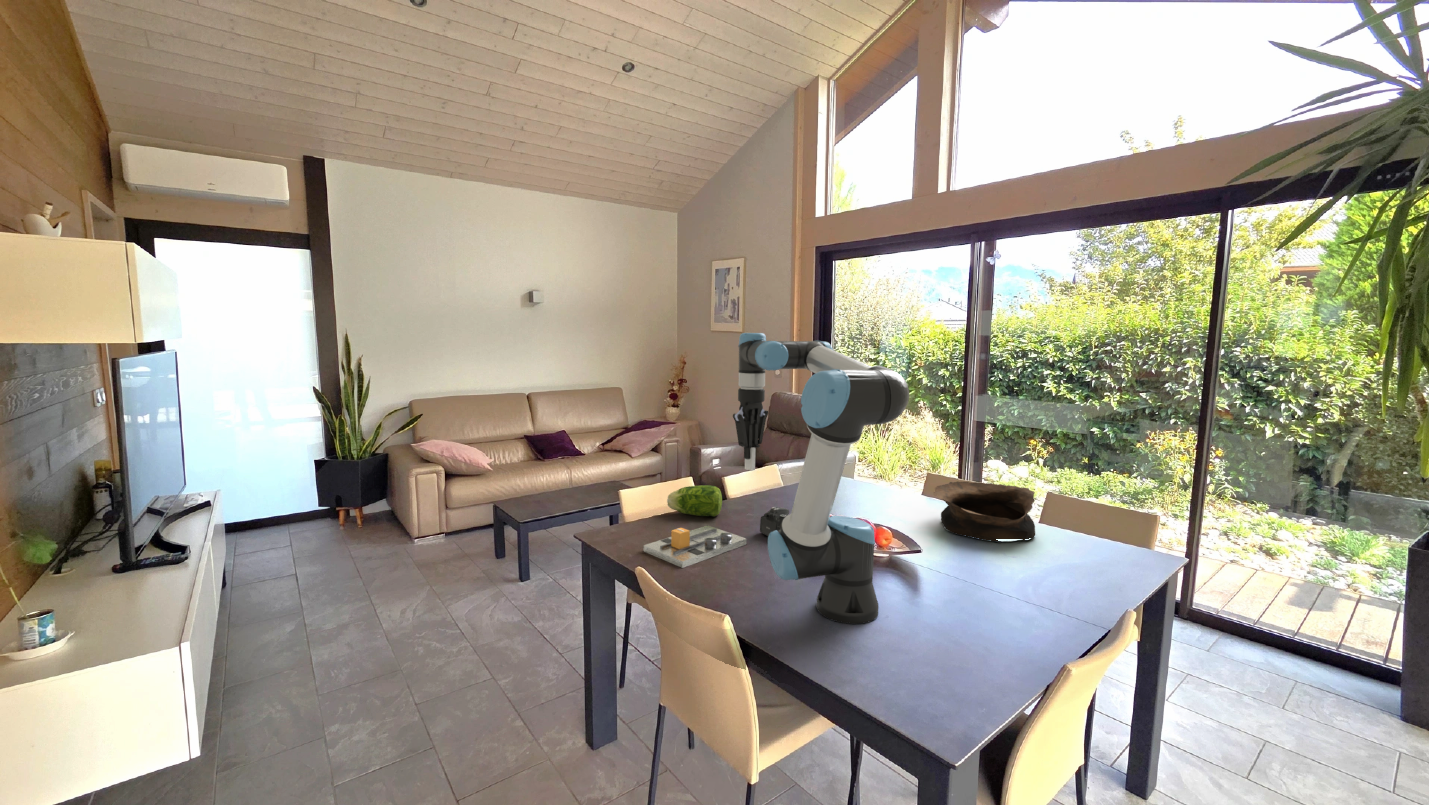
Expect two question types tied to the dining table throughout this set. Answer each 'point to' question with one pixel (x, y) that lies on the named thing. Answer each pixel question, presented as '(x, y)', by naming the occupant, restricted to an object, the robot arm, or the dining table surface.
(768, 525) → the camera
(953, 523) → the bowl
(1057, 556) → the dining table surface
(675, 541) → the fader
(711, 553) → the console
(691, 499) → the lettuce
